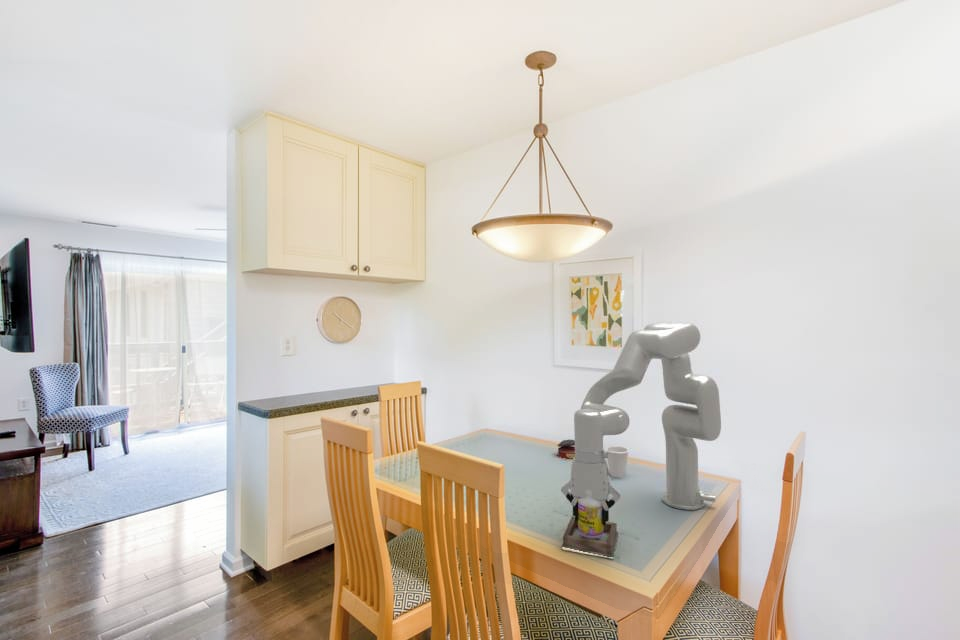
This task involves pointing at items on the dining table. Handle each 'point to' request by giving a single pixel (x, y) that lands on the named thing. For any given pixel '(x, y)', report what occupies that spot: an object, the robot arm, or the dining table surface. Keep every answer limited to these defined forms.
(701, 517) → the dining table surface
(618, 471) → the dixie cup
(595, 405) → the robot arm
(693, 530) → the dining table surface
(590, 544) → the shallow square brown tray
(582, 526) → the supplement bottle
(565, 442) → the canned food
